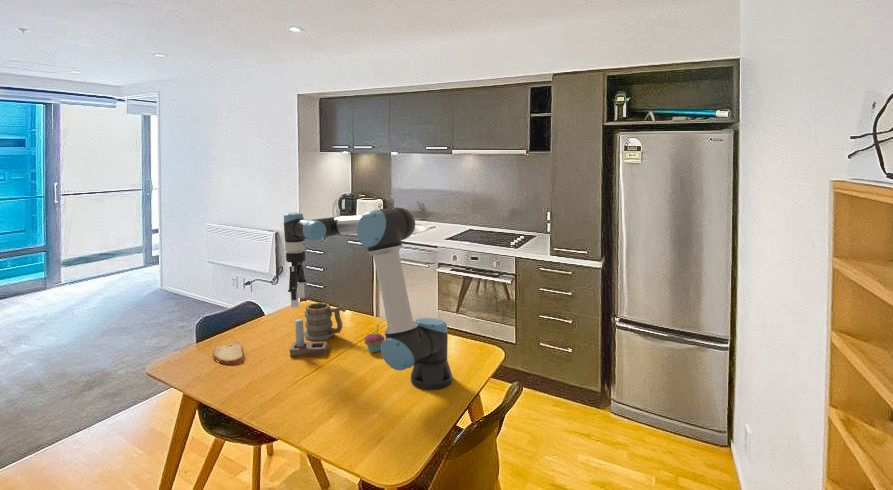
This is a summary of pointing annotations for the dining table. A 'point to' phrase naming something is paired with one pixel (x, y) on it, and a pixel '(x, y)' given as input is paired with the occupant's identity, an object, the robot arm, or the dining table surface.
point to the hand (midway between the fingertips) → (298, 302)
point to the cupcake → (374, 341)
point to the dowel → (299, 333)
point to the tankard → (321, 321)
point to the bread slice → (229, 353)
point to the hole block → (309, 349)
